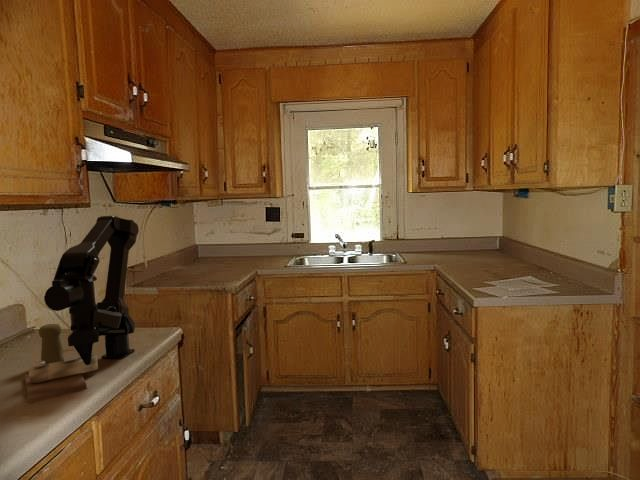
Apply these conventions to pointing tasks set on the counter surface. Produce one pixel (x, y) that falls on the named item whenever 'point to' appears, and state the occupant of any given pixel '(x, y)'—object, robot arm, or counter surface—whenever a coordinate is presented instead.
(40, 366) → the keeper
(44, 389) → the base plate
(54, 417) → the counter surface
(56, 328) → the cork
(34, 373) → the latch arm
